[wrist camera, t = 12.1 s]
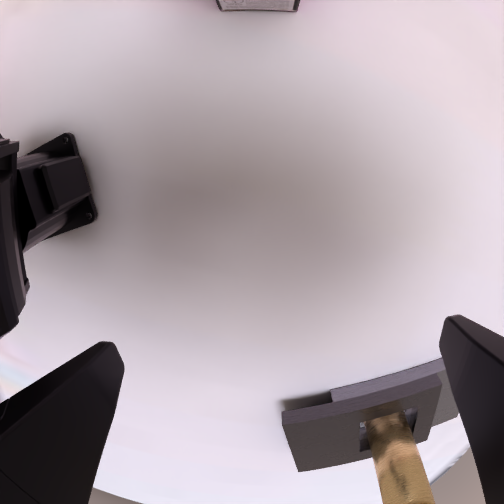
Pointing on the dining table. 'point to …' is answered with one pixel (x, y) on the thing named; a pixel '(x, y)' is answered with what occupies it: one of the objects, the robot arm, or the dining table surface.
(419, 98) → the dining table surface
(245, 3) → the candy bar box
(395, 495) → the brass pin
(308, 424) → the grey rectangular frame
